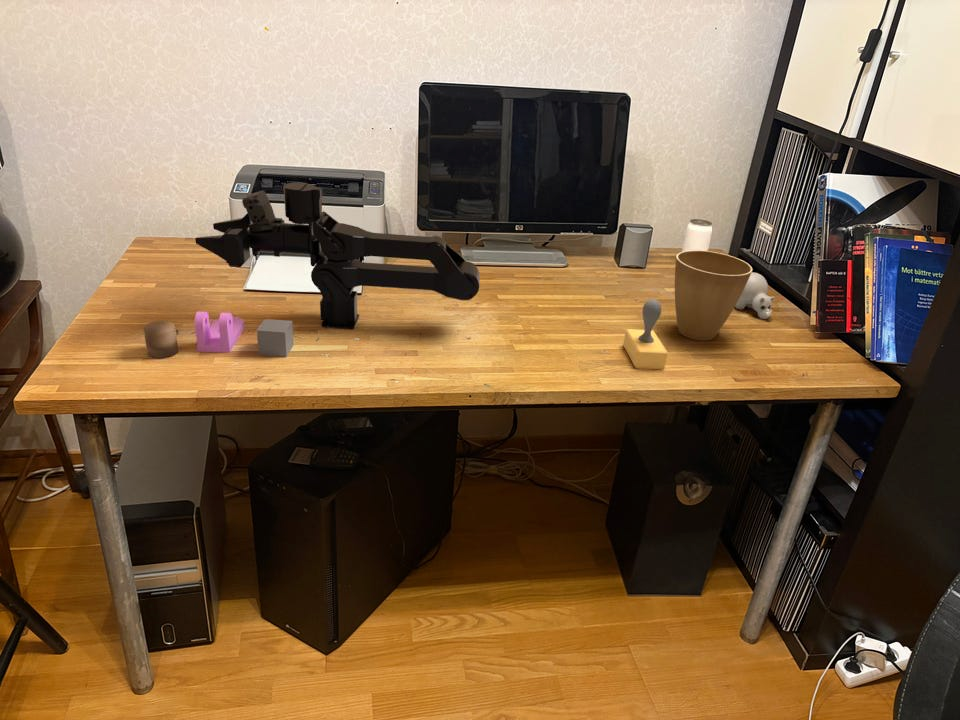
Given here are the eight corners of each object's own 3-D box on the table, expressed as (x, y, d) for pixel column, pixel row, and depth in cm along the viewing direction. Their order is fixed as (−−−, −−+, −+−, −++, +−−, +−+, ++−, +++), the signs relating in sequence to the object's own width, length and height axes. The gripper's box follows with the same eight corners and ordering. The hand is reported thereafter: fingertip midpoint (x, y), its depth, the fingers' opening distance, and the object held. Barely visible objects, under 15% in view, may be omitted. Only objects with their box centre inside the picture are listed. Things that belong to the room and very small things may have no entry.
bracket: (230, 353, 127) (226, 317, 124) (198, 352, 126) (193, 316, 123) (247, 323, 138) (244, 290, 135) (218, 322, 138) (214, 289, 135)
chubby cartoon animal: (746, 330, 159) (763, 303, 153) (721, 293, 166) (736, 266, 160) (772, 327, 161) (790, 301, 155) (746, 291, 168) (763, 264, 162)
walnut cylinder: (182, 347, 127) (179, 322, 125) (171, 360, 123) (167, 334, 121) (155, 345, 127) (151, 320, 125) (142, 357, 123) (138, 332, 121)
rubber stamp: (622, 345, 141) (632, 289, 136) (650, 346, 142) (661, 290, 136) (634, 368, 132) (646, 309, 127) (664, 369, 133) (677, 311, 127)
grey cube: (293, 345, 131) (292, 320, 129) (286, 357, 127) (285, 332, 124) (266, 343, 131) (264, 319, 129) (258, 355, 127) (256, 330, 124)
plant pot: (700, 354, 140) (717, 278, 132) (647, 325, 150) (660, 254, 143) (749, 341, 147) (768, 268, 140) (695, 314, 158) (710, 246, 151)
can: (706, 270, 186) (716, 226, 181) (682, 268, 186) (691, 224, 181) (700, 262, 192) (709, 219, 186) (676, 260, 192) (685, 217, 186)
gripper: (297, 184, 138) (217, 179, 138) (270, 210, 122) (179, 204, 122) (300, 239, 143) (223, 234, 143) (274, 270, 127) (187, 265, 127)
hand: (204, 233), depth 134 cm, fingers open, 9 cm apart
